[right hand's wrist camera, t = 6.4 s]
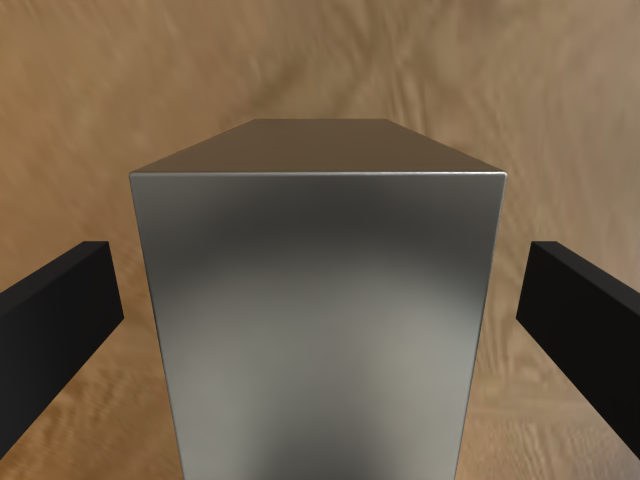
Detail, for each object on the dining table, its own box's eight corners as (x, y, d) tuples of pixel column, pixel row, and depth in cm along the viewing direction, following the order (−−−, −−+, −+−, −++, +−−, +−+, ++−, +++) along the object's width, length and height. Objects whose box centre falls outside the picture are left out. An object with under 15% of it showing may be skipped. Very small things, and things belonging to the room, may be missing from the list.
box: (253, 119, 18) (126, 172, 6) (386, 118, 18) (510, 171, 6) (275, 479, 26) (239, 790, 15) (366, 480, 26) (401, 791, 15)
